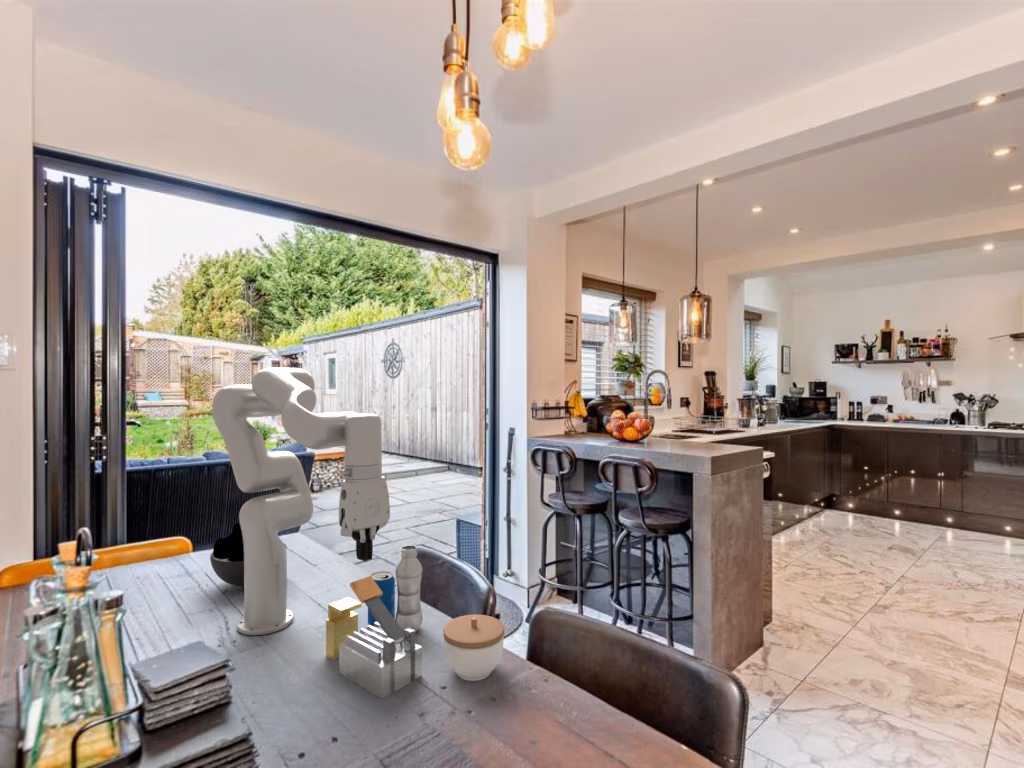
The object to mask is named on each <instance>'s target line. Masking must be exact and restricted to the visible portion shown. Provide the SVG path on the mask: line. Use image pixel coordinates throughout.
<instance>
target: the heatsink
mask: <svg viewBox="0 0 1024 768" xmlns="http://www.w3.org/2000/svg"><path fill="white" fill-rule="evenodd" d="M404 634H407V636H408V639H407V640H405V641H403V642H400V643H398V644H396V645H395V640H393V639H390V638H388V637H387V635H386V634H385V632H384V631H383V629H382V628H381V626H380V625H379V623H378V622H375V623H374V627H373V626H371V625H369V624H368V625H367V629H366V628H364V627H362V628H360V629H359V631H358V632H356V631H354V632H353V637H352V636H350V635H345V642H343V643H340V644H339V659H338V665H339V666H338V668H339V669H338V673H339V674H340V675H342V676H343V677H345V678H347V679H348V680H350V681H352V682H353V683H354V684H357V685H358V686H360V687H362V688H363V689H365V690H366V691H368V692H369V693H372V694H373V695H374V696H376V697H377V698H379V699H381V700H383V699H385V698H386V697H388V696H390V695H391V694H393V693H395V692H397V691H398V690H400V689H402V688H404V687H405V686H407V685H409V684H410V683H412V682H414V681H415V680H418V679H419V678H421V677H422V676H423V646H421V645H420V644H417V643H416V632H415V630H413V629H411V628H407V629H405V630H404Z"/></svg>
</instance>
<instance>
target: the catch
mask: <svg viewBox="0 0 1024 768" xmlns="http://www.w3.org/2000/svg"><path fill="white" fill-rule="evenodd" d="M327 605H328V606H327V607H328V611H327V613H328V614H327V617H328V618H326V620H325V621H326V623H325V626H326V627H325V640H326V641H325V645H326V646H325V656H326V657H327V656H328V657H327V658H329V657H330V658H331V660H332V659H333V660H332V661H336V660H338V659H337V658H339V644H340V643H343V642H345V635H350V636H352V637H353V632H354V631H356V632H358V633H359V614H358V613H357V612H355V611H354V610H357V609H359V608H362V603H361V602H360V600H356V599H354V598H352V597H349V596H347V597H344V598H342V599H339V600H336V601H333V602H331V603H328V604H327ZM330 658H329V659H330Z"/></svg>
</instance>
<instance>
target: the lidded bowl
mask: <svg viewBox="0 0 1024 768" xmlns="http://www.w3.org/2000/svg"><path fill="white" fill-rule="evenodd" d="M442 630H443V631H442V632H443V633H442V634H443V641H444V642H443V646H444V647H443V648H444V654H445V659H446V661H447V664H448V665H449V667H450V668H451V670H452V671H453V672H454V673H456V675H457V677H458V678H460V679H462V680H464V681H467V682H478V681H482V680H484V679H486V678H488V677H490V675H491V673H492V672H493V671H494V670H495V669H496V668H497V666H498V664H499V663H500V661H501V658H502V654H503V649H504V641H505V640H504V637H505V626H504V624H503V622H501V620H499V619H498V618H495V617H493V616H490V615H486V614H466V615H460V616H458V617H457V616H456V617H454V618H453V619H451V620H449V621H448V622H446V624H445V625H444V627H443V629H442Z"/></svg>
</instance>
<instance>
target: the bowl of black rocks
mask: <svg viewBox="0 0 1024 768" xmlns="http://www.w3.org/2000/svg"><path fill="white" fill-rule="evenodd" d="M231 529H232V532H231V533H230V534H229V535H228V536H226V537H224V538H223V537H219V538H217V539H216V541H215V542H214V544H213V549H212V550H213V551H212V553H210V556H209V559H210V565H211V567H212V570H213V572H214V573H215V575H216V576H217V577H218V578H219V579H220V580H221V581H223V582H225V583H226V584H228V585H231V586H234V587H238V588H240V587H241V588H244V544H243V536H242V530H241V526H240V522H236V523H235V524H234V525H233V526H232V527H231ZM283 543H284V542H283ZM284 545H285V547H286V550H287V544H286V543H284Z"/></svg>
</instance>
